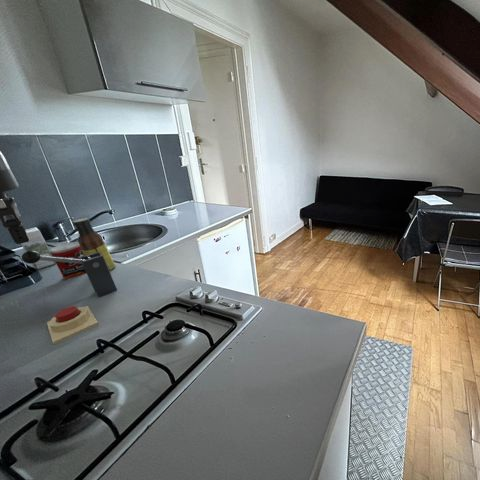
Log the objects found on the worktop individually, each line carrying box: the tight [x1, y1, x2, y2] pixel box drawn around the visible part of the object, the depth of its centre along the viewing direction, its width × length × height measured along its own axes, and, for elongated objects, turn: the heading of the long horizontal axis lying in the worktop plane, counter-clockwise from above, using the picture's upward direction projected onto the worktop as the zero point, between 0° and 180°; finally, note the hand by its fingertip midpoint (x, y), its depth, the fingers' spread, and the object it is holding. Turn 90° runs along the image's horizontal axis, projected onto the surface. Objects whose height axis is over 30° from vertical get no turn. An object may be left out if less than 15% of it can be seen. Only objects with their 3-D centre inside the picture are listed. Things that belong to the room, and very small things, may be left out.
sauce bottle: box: [72, 217, 116, 272], centre depth 87 cm, size 6×6×20 cm
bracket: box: [79, 252, 118, 298], centre depth 75 cm, size 11×9×13 cm
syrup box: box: [20, 226, 57, 270], centre depth 97 cm, size 6×6×14 cm
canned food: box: [49, 241, 87, 281], centre depth 89 cm, size 8×8×11 cm
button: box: [54, 305, 80, 323], centre depth 62 cm, size 4×4×2 cm
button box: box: [46, 305, 100, 345], centre depth 63 cm, size 11×8×4 cm
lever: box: [21, 251, 94, 265], centre depth 69 cm, size 15×3×3 cm, turn 139°
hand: (21, 238), depth 62 cm, fingers open, 8 cm apart
